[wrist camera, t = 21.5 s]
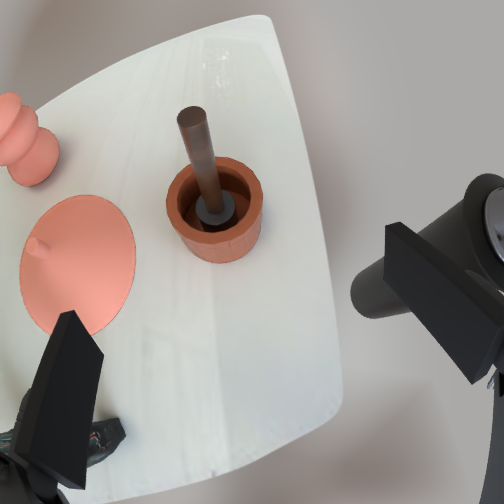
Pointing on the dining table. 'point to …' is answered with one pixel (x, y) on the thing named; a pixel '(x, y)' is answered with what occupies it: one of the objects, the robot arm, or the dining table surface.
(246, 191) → the jar
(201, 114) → the pestle
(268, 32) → the dining table surface
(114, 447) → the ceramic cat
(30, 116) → the ceramic vessels
